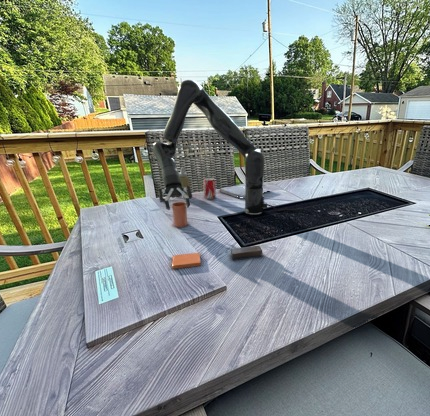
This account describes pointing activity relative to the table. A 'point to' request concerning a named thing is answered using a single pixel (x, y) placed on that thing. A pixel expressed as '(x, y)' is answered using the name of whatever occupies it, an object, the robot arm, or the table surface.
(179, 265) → the orange rectangular slab
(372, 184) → the table surface
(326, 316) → the table surface
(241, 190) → the notebook
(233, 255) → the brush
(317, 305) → the table surface
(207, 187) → the soda can
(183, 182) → the squeeze bottle
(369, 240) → the table surface
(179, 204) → the pot
